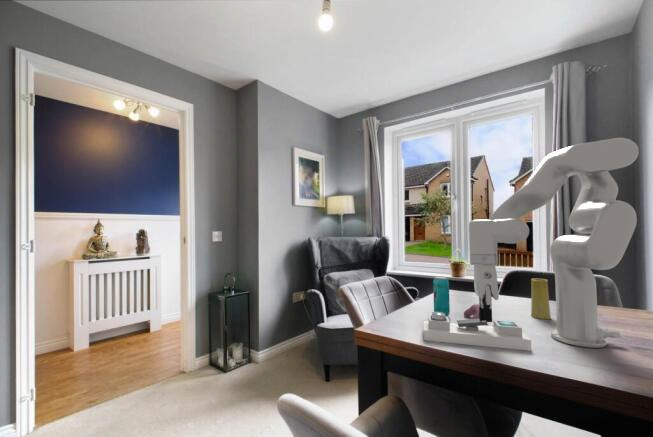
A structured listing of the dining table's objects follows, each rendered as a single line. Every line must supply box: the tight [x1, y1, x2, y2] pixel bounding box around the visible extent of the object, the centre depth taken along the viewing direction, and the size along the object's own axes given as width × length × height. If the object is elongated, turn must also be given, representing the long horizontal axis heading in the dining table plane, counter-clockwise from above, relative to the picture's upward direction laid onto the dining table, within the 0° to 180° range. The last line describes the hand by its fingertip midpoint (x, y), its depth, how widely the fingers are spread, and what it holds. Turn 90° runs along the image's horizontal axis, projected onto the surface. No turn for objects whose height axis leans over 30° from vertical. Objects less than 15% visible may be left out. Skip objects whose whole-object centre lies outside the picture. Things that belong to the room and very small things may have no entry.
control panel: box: [423, 314, 532, 352], centre depth 90 cm, size 28×10×6 cm, turn 73°
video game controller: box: [463, 303, 480, 319], centre depth 109 cm, size 10×5×7 cm, turn 169°
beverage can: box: [432, 275, 451, 318], centre depth 115 cm, size 6×6×15 cm
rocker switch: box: [456, 318, 489, 327], centre depth 90 cm, size 8×4×1 cm, turn 73°
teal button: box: [499, 322, 515, 327], centre depth 87 cm, size 4×4×2 cm
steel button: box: [431, 311, 445, 321], centre depth 93 cm, size 4×4×2 cm
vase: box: [530, 277, 552, 320], centre depth 113 cm, size 6×6×14 cm
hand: (485, 320), depth 89 cm, fingers closed
